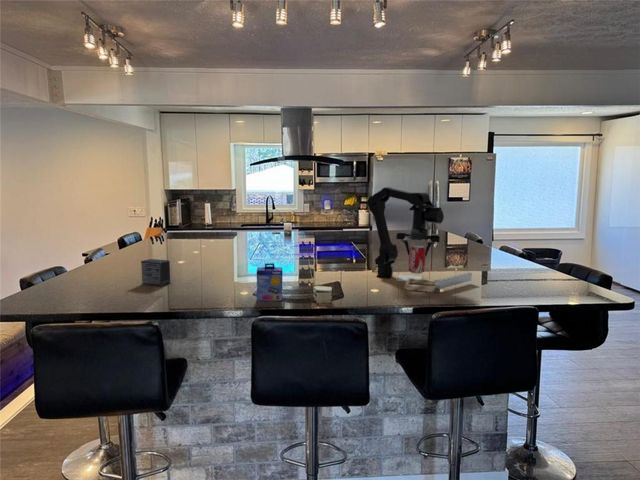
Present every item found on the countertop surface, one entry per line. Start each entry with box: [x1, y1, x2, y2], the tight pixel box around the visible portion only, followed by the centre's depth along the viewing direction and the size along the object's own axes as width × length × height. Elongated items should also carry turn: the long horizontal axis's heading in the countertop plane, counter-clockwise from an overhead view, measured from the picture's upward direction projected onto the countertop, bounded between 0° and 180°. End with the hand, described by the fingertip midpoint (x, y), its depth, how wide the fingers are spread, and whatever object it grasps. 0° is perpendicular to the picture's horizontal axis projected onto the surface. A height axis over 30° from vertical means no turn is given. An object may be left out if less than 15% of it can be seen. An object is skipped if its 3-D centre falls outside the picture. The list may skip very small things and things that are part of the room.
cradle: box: [403, 278, 441, 294], centre depth 186 cm, size 15×14×2 cm
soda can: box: [408, 244, 426, 275], centre depth 191 cm, size 7×7×12 cm
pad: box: [395, 274, 424, 282], centre depth 201 cm, size 11×11×1 cm
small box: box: [140, 258, 171, 287], centre depth 186 cm, size 11×6×10 cm, turn 71°
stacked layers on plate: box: [312, 285, 333, 304], centre depth 164 cm, size 10×9×6 cm
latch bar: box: [434, 272, 473, 290], centre depth 185 cm, size 2×26×4 cm, turn 129°
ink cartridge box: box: [256, 262, 283, 302], centre depth 165 cm, size 10×6×14 cm, turn 95°
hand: (417, 255), depth 190 cm, fingers closed on soda can, 7 cm apart
